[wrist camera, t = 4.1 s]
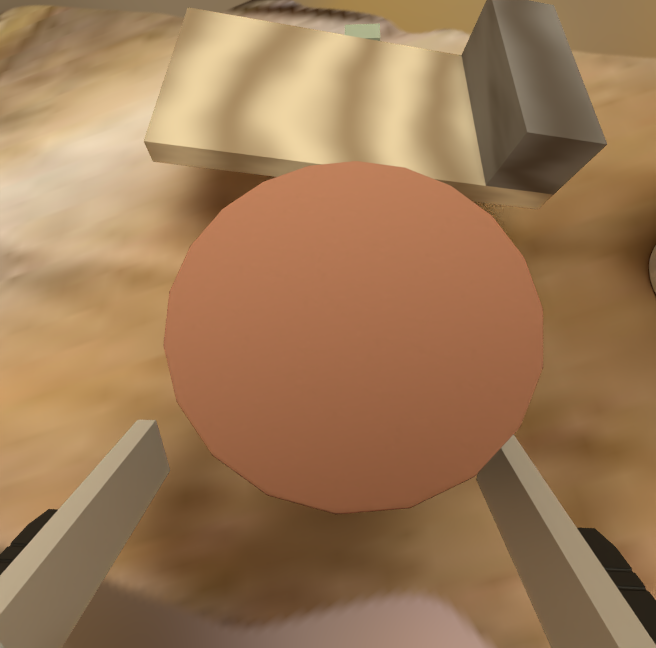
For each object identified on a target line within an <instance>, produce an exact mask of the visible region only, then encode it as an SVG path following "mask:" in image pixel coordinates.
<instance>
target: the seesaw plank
mask: <svg viewBox="0 0 656 648" xmlns="http://www.w3.org/2000/svg"><path fill="white" fill-rule="evenodd" d="M144 143H145V145H146V147H147V149H148V151H149V154H150V156H151V158H152V160H153V162H161V163H169V164H177V165H185V166H193V167H201V168H209V169H217V170H225V171H233V172H241V173H249V174H257V175H265V176H273V177H278V176H281V175H284V174H287V173H289V172H292V171H295V170H298V169H301V168H304V167H307V166H312V165H322V164H331V163H341V162H351V161H360V162H368V163H375V164H382V165H390V166H397V167H405V168H407V169H410V170H412V171H415V172H417V173H420V174H422V175H425V176H427V177H430V178H433V179H435V180H438V181H440V182H443V183H445V184H448V185H450V186H452V187H453V188H455V189H456V190H457V191H459V192H460V193H462V194H463V195H464V196H466V197H467V198H468V199H470V200H471V201H474V202H482V203H490V204H498V205H506V206H514V207H522V208H530V209H539V208H540V207H541V206H542V205H543V204H544V203H545V202H546V201H547V200H548V199H549V198H550V197H551V196H552V195H554V194H555V193H556V192H557V191H558V190H559V189H560V188H561V187H562V186H563V185H564V184H565V183H566V182H567V181H569V180H570V179H571V178H572V177H573V176H574V175H575V174H576V173H577V172H578V171H579V170H580V169H581V168H582V167H584V166H585V165H586V164H587V163H588V162H589V161H590V160H591V159H592V158H593V157H594V156H595V155H596V154H597V153H598V152H600V151H601V150H602V149H603V148H604V147H605V146H606V145H607V142H606V140H605V137H604V135H603V132H602V129H601V127H600V124H599V122H598V119H597V116H596V114H595V111H594V109H593V106H592V103H591V101H590V98H589V96H588V93H587V90H586V88H585V85H584V83H583V80H582V77H581V75H580V72H579V70H578V67H577V64H576V62H575V59H574V57H573V54H572V51H571V49H570V46H569V44H568V41H567V38H566V36H565V33H564V31H563V28H562V25H561V23H560V20H559V18H558V15H557V13H556V10H555V7H554V6H553V5H549V4H544V3H539V2H534V1H529V0H487V1H486V3H485V5H484V7H483V9H482V12H481V14H480V16H479V18H478V21H477V23H476V25H475V27H474V29H473V32H472V34H471V36H470V38H469V40H468V42H467V45H466V47H465V49H464V51H463V53H462V55H456V54H450V53H445V52H439V51H433V50H428V49H422V48H416V47H411V46H405V45H399V44H393V43H388V42H382V41H376V40H371V39H365V38H359V37H354V36H348V35H342V34H336V33H331V32H325V31H319V30H314V29H308V28H302V27H297V26H291V25H285V24H279V23H274V22H268V21H262V20H257V19H251V18H245V17H240V16H234V15H228V14H222V13H217V12H211V11H205V10H200V9H194V8H188V9H187V12H186V15H185V18H184V21H183V24H182V27H181V30H180V33H179V36H178V39H177V42H176V45H175V48H174V51H173V54H172V57H171V60H170V63H169V66H168V69H167V72H166V75H165V78H164V81H163V84H162V87H161V90H160V93H159V96H158V99H157V102H156V106H155V109H154V112H153V115H152V118H151V121H150V124H149V127H148V130H147V133H146V136H145V139H144Z"/></svg>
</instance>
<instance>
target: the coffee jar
mask: <svg viewBox="0 0 656 648" xmlns="http://www.w3.org/2000/svg"><path fill="white" fill-rule="evenodd" d="M164 349H165V354H166V358H167V362H168V366H169V371H170V375H171V379H172V383H173V387H174V392H175V396H176V400H177V403H178V404H179V406H180V407H181V409H182V410H183V412H184V413H185V415H186V416H187V418H188V419H189V421H190V422H191V424H192V425H193V427H194V428H195V430H196V432H197V433H198V435H199V436H200V438H201V439H202V441H203V442H204V444H205V445H206V447H207V448H208V450H209V451H210V453H211V454H212V455H213V456H214V457H215V458H217V459H218V460H219V461H221V462H222V463H224V464H225V465H226V466H228V467H229V468H231V469H232V470H233V471H235V472H236V473H237V474H239V475H240V476H242V477H243V478H244V479H246V480H247V481H248V482H250V483H251V484H253V485H254V486H255V487H257V488H258V489H259V490H261V491H262V492H264V493H265V494H266V495H268V496H272V497H276V498H279V499H283V500H287V501H290V502H294V503H297V504H301V505H305V506H308V507H312V508H315V509H319V510H323V511H326V512H330V513H333V514H348V513H359V512H371V511H382V510H394V509H405V508H411V507H413V506H415V505H417V504H419V503H421V502H423V501H426V500H428V499H430V498H432V497H434V496H436V495H438V494H440V493H442V492H444V491H446V490H448V489H450V488H452V487H454V486H456V485H459V484H461V483H463V482H465V481H467V480H469V479H471V478H473V477H475V475H476V474H477V473H478V472H479V471H480V470H481V469H482V468H483V467H484V466H485V465H486V464H487V462H488V461H489V460H490V459H491V458H492V457H493V456H494V455H495V454H496V453H497V452H498V451H499V450H500V448H501V447H502V446H503V445H504V444H505V443H506V442H507V441H508V440H509V439H510V438H511V437H512V435H513V434H514V433H515V432H516V431H517V430H518V429H519V428H520V426H521V424H522V421H523V419H524V416H525V414H526V411H527V408H528V406H529V403H530V401H531V398H532V395H533V393H534V390H535V388H536V385H537V382H538V380H539V377H540V375H541V372H542V369H543V308H542V305H541V303H540V300H539V297H538V294H537V291H536V289H535V286H534V283H533V280H532V278H531V275H530V272H529V269H528V266H527V264H526V261H525V258H524V257H523V255H522V254H521V253H520V251H519V250H518V249H517V248H516V246H515V245H514V244H513V242H512V241H511V240H510V238H509V237H508V236H507V235H506V233H505V232H504V231H503V229H502V228H501V227H500V225H499V224H498V223H497V222H496V220H495V219H494V218H493V216H491V215H490V214H489V213H487V212H486V211H485V210H483V209H482V208H481V207H479V206H478V205H477V204H475V203H474V202H472V201H471V200H470V199H468V198H467V197H466V196H464V195H463V194H462V193H460V192H459V191H457V190H456V189H455V188H453V187H452V186H450V185H448V184H445V183H443V182H440V181H438V180H435V179H433V178H430V177H427V176H425V175H422V174H420V173H417V172H415V171H412V170H410V169H407V168H405V167H397V166H390V165H382V164H375V163H368V162H360V161H351V162H341V163H331V164H322V165H312V166H307V167H304V168H301V169H298V170H295V171H292V172H289V173H287V174H284V175H281V176H278V177H275V178H272V179H270V180H267V181H264V182H262V183H261V184H259V185H258V186H256V187H255V188H253V189H252V190H250V191H249V192H247V193H246V194H244V195H243V196H241V197H240V198H238V199H237V200H235V201H233V202H232V203H230V204H229V205H227V206H226V207H224V208H223V209H222V210H221V211H220V212H219V214H218V215H217V216H216V217H215V218H214V219H213V220H212V222H211V223H210V224H209V225H208V226H207V227H206V228H205V230H204V231H203V232H202V233H201V234H200V235H199V237H198V238H197V239H196V240H195V241H194V242H193V243H192V245H191V246H190V248H189V250H188V252H187V254H186V257H185V259H184V261H183V263H182V265H181V268H180V270H179V272H178V274H177V276H176V279H175V281H174V283H173V285H172V287H171V290H170V292H169V300H168V309H167V319H166V328H165V337H164Z"/></svg>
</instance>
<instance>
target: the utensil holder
mask: <svg viewBox="0 0 656 648" xmlns="http://www.w3.org/2000/svg"><path fill="white" fill-rule="evenodd" d="M649 274H650V280H651V283H652V286H653V289H654V291H655V294H656V246H655V247H654V249H653V251H652V254H651V257H650V261H649Z"/></svg>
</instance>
